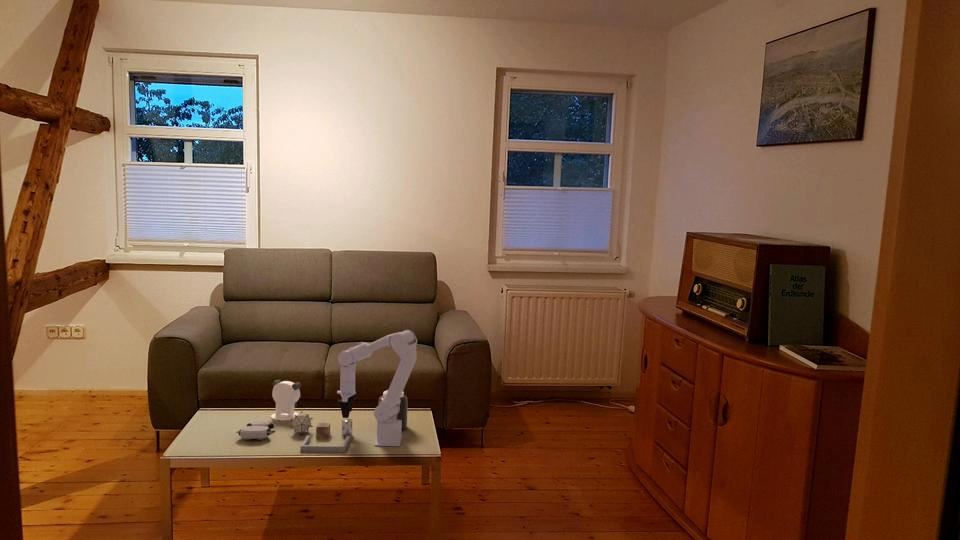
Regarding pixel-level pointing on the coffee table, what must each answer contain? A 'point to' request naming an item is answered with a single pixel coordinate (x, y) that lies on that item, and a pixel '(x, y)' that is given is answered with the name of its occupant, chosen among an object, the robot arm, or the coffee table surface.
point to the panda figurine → (285, 399)
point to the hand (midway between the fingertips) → (347, 414)
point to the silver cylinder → (346, 427)
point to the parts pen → (323, 446)
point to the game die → (301, 422)
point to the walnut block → (323, 430)
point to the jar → (403, 409)
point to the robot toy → (256, 430)
